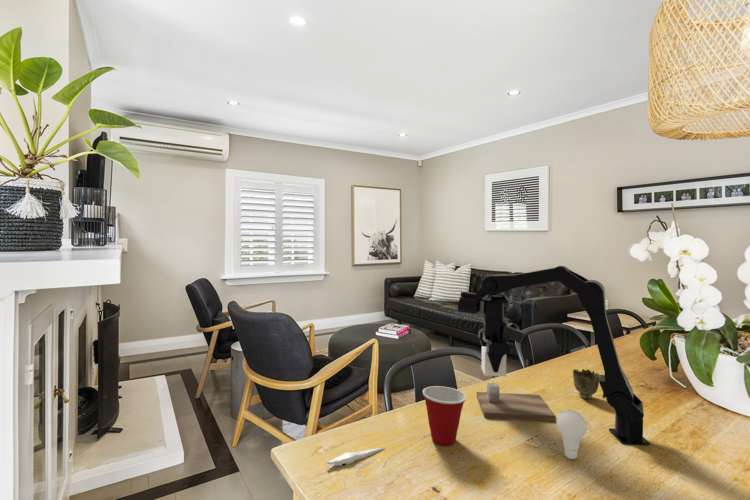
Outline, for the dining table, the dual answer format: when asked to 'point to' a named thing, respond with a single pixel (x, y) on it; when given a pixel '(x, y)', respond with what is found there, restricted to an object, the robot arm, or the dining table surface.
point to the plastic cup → (443, 413)
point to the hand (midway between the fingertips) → (493, 368)
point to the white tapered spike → (351, 457)
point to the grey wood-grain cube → (492, 392)
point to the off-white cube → (487, 366)
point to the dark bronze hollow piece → (586, 383)
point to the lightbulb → (571, 431)
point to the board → (516, 407)
